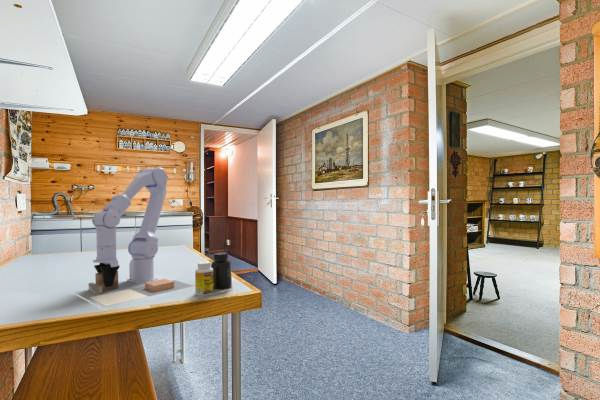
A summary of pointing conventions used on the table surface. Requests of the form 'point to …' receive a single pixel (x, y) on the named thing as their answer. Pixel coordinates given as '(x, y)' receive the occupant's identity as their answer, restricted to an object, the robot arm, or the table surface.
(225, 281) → the supplement bottle
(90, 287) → the pusher
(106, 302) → the board
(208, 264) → the supplement bottle
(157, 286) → the terracotta tile
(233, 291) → the table surface
